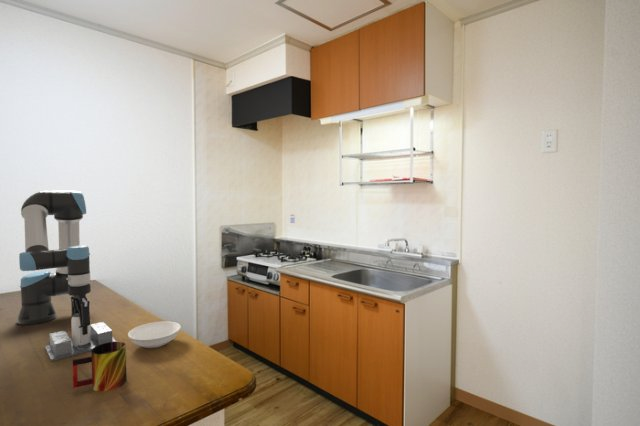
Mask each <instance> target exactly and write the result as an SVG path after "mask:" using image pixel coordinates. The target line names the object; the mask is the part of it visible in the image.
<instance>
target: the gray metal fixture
mask: <svg viewBox="0 0 640 426" xmlns="http://www.w3.org/2000/svg"><path fill="white" fill-rule="evenodd" d="M108 342H118V341H117V340H116V339H115V338H114V337H113V330H112V329H111V328H110V327H109V326H108V325H107V324H106V323H105V322H104V321H101V322H95V323H92V324H91V341H90V343H88V344H86V345H83V346H73V345H72V338H70V336H69V335H68V333H67V332H66V330H61V331H55V332H52V333H49V344H48V345H45V346H44V349H45V350H46V354H47V356H48V358H49V360H50V361H51V362H53V361H54V362H55V361H58V360H63V359H66V358H69V357H73V356H76V355H77V356H78V355H81V354H84V353H89V352H91V350H92V349H93V348H94V347H96V346H98V345H101V344H104V343H108Z"/></svg>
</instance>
